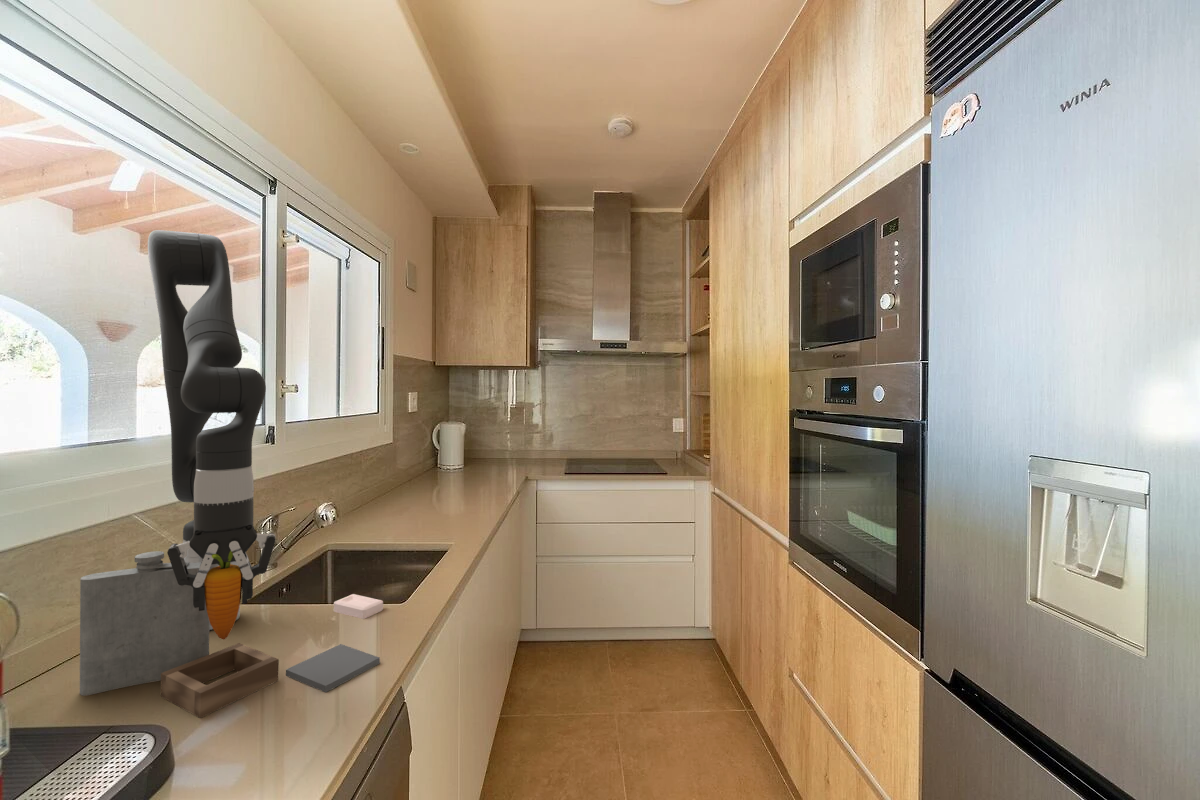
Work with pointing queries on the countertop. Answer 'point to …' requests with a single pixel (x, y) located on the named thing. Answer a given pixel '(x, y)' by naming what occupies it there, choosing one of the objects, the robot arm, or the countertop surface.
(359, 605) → the soap bar
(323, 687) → the mat
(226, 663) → the socket collar
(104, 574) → the hip flask
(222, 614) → the carrot
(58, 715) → the countertop surface
